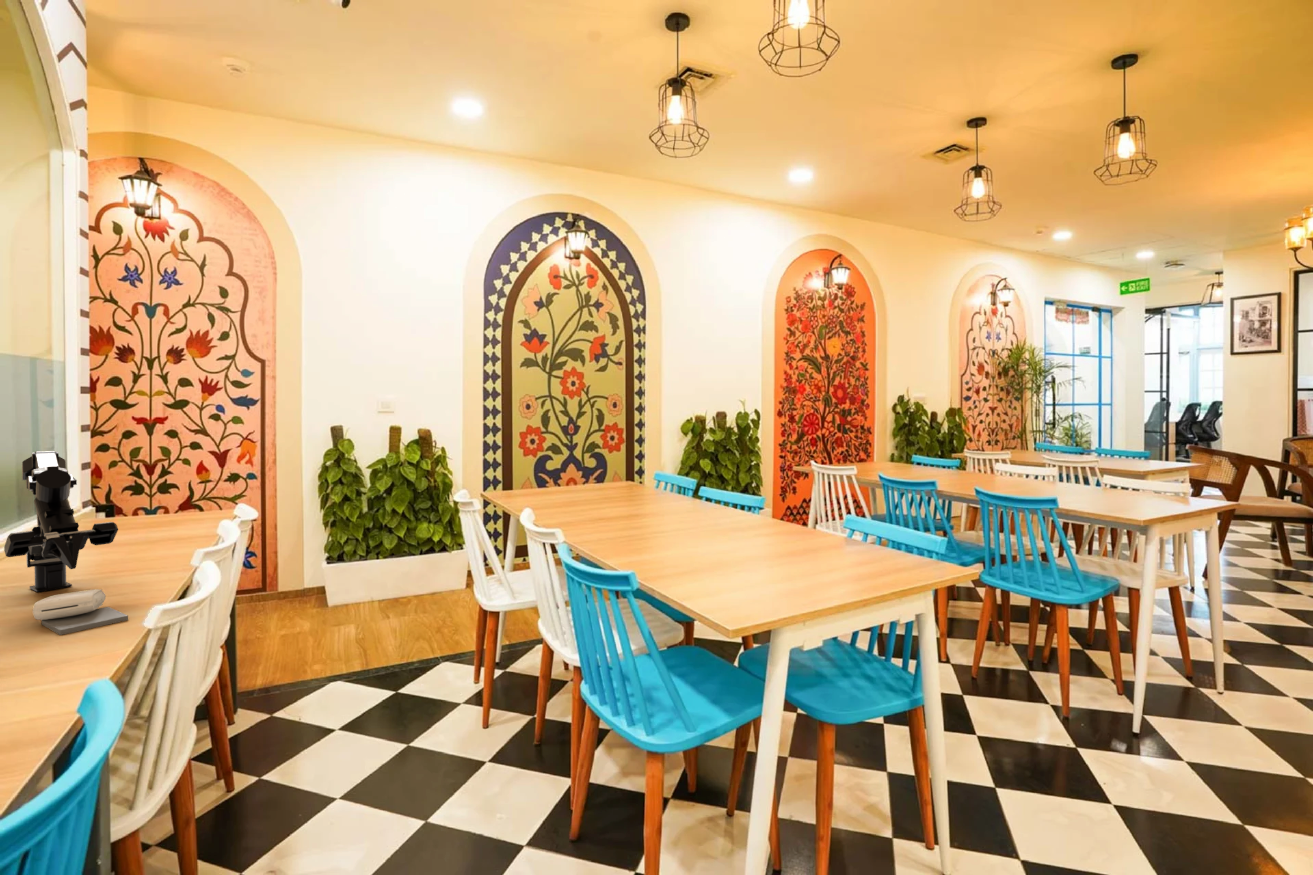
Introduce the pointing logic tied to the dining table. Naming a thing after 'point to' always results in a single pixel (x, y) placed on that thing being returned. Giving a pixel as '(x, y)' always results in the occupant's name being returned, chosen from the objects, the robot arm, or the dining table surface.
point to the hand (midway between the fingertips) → (73, 567)
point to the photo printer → (68, 604)
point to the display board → (84, 620)
